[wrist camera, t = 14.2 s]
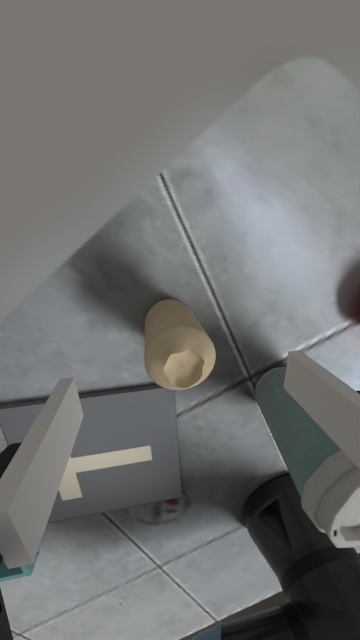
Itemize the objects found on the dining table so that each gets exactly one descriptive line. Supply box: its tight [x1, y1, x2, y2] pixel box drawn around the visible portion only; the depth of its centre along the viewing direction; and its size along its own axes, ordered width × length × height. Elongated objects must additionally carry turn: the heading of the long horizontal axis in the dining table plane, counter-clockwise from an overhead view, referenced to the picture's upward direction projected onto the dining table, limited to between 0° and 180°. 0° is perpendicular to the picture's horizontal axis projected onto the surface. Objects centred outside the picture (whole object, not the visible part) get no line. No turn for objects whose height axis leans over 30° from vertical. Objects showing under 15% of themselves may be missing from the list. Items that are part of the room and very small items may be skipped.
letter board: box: [0, 385, 182, 523], centre depth 29 cm, size 20×20×1 cm
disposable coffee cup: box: [255, 367, 360, 548], centre depth 23 cm, size 11×11×15 cm
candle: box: [145, 299, 216, 390], centre depth 20 cm, size 6×6×10 cm
